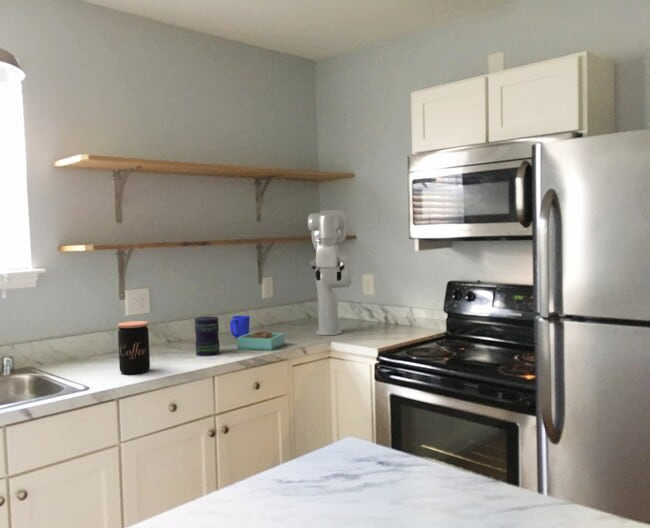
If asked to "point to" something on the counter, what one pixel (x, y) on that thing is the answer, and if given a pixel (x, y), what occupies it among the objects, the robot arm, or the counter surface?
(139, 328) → the coffee jar
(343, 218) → the robot arm
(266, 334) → the walnut crate
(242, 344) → the teal crate
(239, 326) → the mug
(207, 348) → the storage jar
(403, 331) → the counter surface
